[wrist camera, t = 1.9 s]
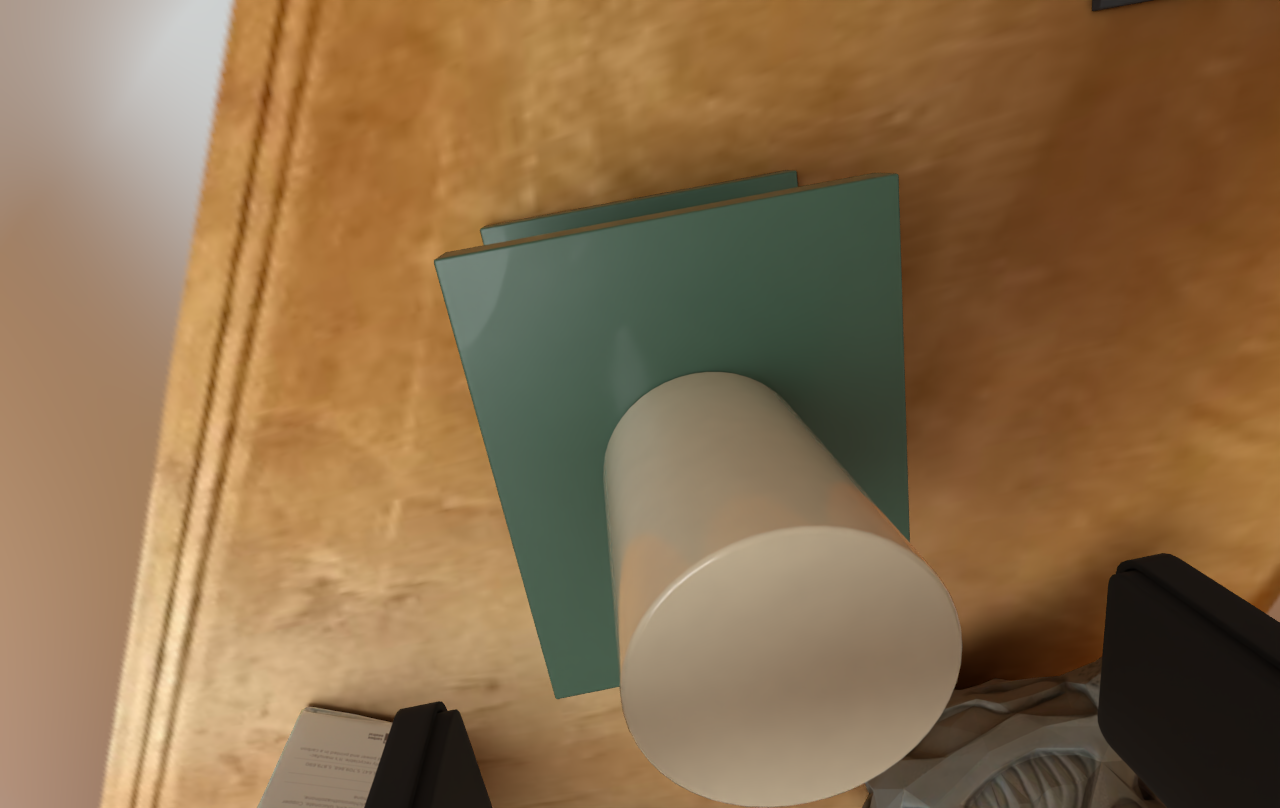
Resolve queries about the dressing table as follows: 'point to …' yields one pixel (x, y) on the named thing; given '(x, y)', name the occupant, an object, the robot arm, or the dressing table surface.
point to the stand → (671, 357)
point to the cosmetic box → (327, 761)
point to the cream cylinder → (764, 602)
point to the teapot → (1016, 752)
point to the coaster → (1113, 3)
